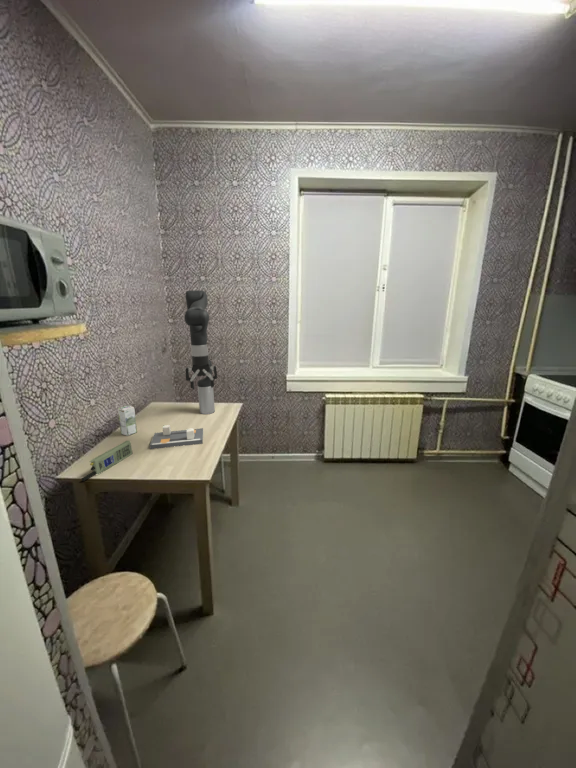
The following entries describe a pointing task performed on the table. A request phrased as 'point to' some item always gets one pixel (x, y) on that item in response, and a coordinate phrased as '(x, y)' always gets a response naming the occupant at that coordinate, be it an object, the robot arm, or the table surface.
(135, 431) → the syrup box
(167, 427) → the inner switch
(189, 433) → the outer switch
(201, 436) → the switch panel
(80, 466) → the table surface
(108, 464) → the handheld radio
